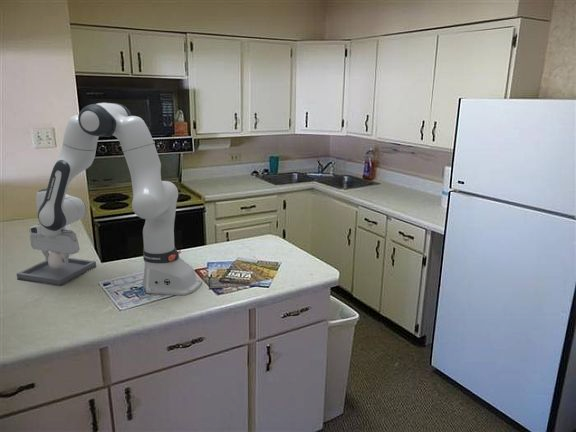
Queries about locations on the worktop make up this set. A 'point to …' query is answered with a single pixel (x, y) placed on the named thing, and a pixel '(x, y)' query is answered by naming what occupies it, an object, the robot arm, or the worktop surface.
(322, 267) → the worktop surface
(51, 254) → the egg
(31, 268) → the tray
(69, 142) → the robot arm
